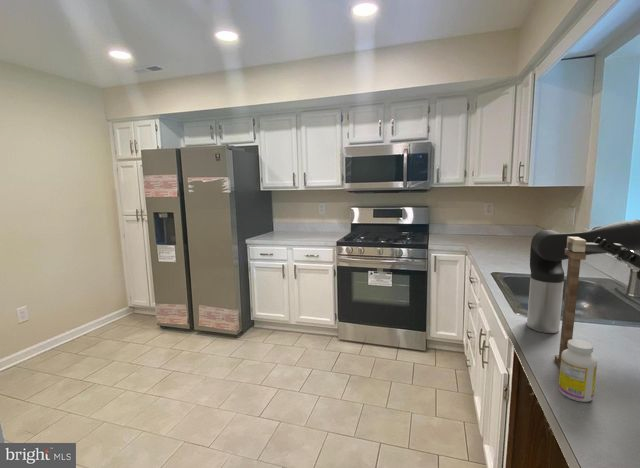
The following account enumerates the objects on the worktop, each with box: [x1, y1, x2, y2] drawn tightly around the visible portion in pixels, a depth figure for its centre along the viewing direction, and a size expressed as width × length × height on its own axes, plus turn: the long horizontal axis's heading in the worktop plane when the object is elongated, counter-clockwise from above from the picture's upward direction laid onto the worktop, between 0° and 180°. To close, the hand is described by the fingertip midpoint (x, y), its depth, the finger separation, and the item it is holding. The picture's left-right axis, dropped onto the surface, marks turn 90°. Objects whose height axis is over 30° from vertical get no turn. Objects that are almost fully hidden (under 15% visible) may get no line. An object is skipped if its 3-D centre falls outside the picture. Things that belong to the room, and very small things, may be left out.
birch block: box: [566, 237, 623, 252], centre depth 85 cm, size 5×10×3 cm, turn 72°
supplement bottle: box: [558, 338, 598, 403], centre depth 79 cm, size 7×7×13 cm
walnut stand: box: [554, 249, 587, 368], centre depth 89 cm, size 6×2×32 cm, turn 162°
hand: (598, 241), depth 84 cm, fingers closed on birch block, 2 cm apart
